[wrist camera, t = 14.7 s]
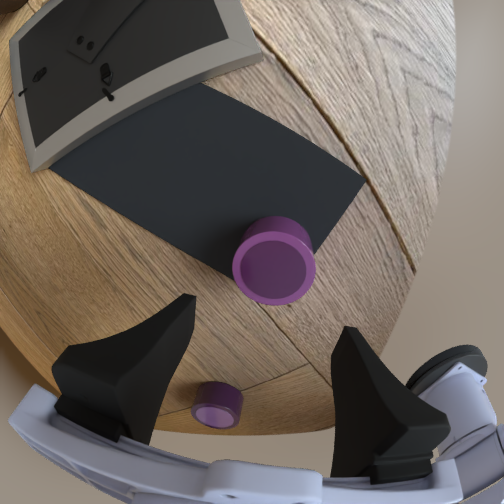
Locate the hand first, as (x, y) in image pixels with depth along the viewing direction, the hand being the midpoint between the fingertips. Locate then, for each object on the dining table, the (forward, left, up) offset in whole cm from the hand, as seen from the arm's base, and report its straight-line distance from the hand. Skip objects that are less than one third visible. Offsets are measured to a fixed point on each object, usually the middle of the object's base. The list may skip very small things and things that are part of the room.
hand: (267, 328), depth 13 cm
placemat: (+11, -2, -9) cm, 15 cm away
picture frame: (+20, -9, -9) cm, 24 cm away
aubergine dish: (-4, +19, -9) cm, 22 cm away
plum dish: (0, 0, -9) cm, 9 cm away
